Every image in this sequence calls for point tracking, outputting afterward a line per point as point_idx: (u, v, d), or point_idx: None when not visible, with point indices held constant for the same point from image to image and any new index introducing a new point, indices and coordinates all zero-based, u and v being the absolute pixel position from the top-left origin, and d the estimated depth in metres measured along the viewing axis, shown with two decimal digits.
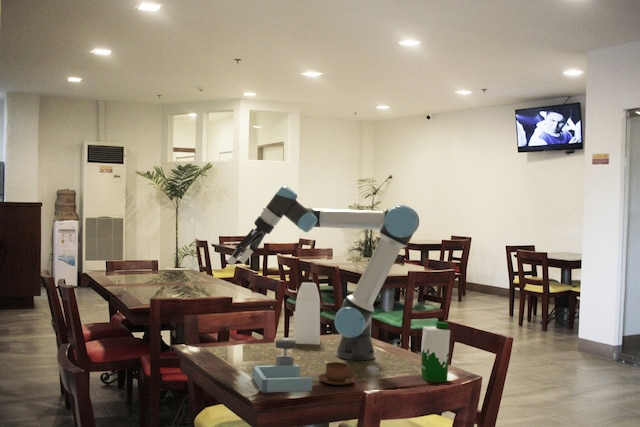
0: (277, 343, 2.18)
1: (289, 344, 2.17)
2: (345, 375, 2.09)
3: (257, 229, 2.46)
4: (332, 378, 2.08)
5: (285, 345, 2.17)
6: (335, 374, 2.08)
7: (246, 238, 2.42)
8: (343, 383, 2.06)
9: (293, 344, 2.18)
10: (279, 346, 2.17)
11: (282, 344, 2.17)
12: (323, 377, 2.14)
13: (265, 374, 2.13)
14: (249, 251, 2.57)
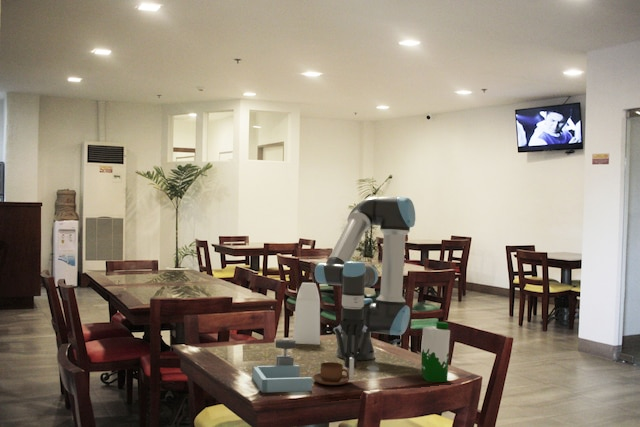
0: (277, 343, 2.18)
1: (289, 344, 2.17)
2: (340, 375, 2.09)
3: None
4: (327, 378, 2.07)
5: (285, 345, 2.17)
6: (329, 375, 2.07)
7: None
8: (338, 383, 2.06)
9: (293, 344, 2.18)
10: (279, 346, 2.17)
11: (282, 344, 2.17)
12: (317, 377, 2.13)
13: (265, 374, 2.13)
14: None
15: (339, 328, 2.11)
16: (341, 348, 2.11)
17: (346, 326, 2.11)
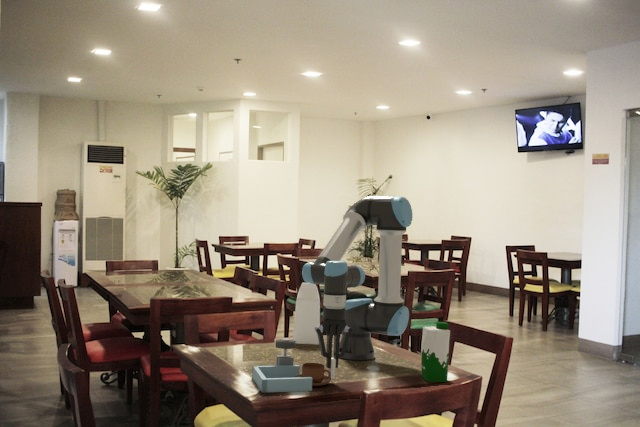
0: (277, 343, 2.18)
1: (289, 344, 2.17)
2: (321, 376, 2.07)
3: None
4: None
5: (285, 345, 2.17)
6: (311, 375, 2.05)
7: None
8: (320, 384, 2.04)
9: (293, 344, 2.18)
10: (279, 346, 2.17)
11: (282, 344, 2.17)
12: None
13: (265, 374, 2.13)
14: None
15: (321, 328, 2.10)
16: (322, 348, 2.09)
17: (328, 326, 2.10)
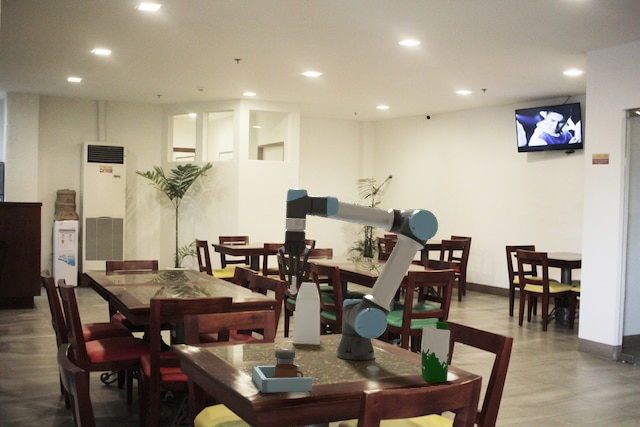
0: (277, 353, 2.18)
1: (289, 354, 2.17)
2: None
3: None
4: None
5: (285, 355, 2.17)
6: (283, 376, 2.03)
7: None
8: None
9: (293, 354, 2.18)
10: (279, 356, 2.17)
11: (282, 354, 2.17)
12: None
13: (265, 374, 2.13)
14: None
15: (282, 249, 2.33)
16: (284, 267, 2.32)
17: (289, 247, 2.33)
